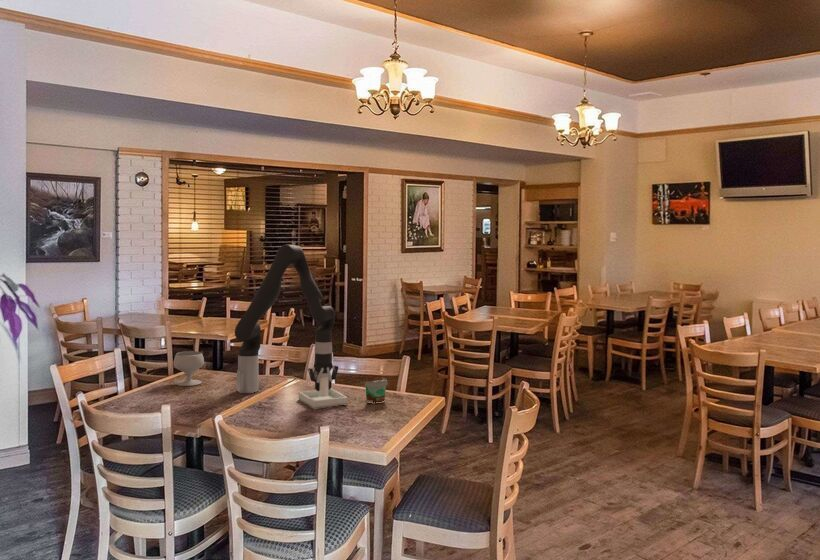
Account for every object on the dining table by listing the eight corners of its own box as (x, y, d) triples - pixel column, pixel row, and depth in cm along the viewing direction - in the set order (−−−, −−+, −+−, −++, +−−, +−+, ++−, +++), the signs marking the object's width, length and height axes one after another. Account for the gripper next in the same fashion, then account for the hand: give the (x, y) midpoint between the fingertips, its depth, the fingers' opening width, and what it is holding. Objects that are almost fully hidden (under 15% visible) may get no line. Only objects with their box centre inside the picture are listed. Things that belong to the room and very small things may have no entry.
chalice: (199, 379, 322) (199, 349, 321) (207, 385, 311) (207, 354, 309) (170, 382, 314) (170, 352, 313) (178, 388, 303) (177, 357, 302)
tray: (314, 409, 271) (314, 401, 271) (298, 399, 286) (298, 392, 286) (347, 405, 279) (347, 397, 279) (331, 396, 294) (331, 388, 294)
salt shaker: (320, 397, 279) (320, 374, 279) (316, 394, 283) (316, 372, 283) (330, 395, 282) (330, 373, 281) (326, 393, 286) (326, 371, 285)
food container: (375, 406, 278) (375, 383, 277) (364, 404, 282) (364, 381, 281) (392, 401, 288) (393, 379, 287) (382, 398, 291) (382, 376, 291)
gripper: (334, 349, 288) (334, 386, 289) (304, 351, 281) (304, 390, 282) (341, 351, 282) (341, 390, 283) (311, 354, 274) (311, 393, 276)
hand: (323, 389), depth 282 cm, fingers closed on salt shaker, 4 cm apart
